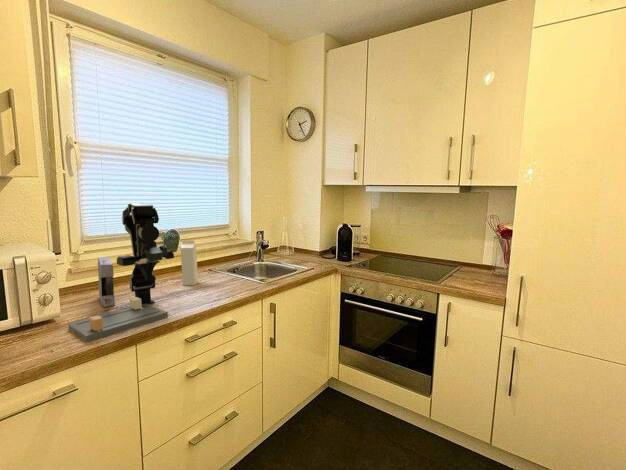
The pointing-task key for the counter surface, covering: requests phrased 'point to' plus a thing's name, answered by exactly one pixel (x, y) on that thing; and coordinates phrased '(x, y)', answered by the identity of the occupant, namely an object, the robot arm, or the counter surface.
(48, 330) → the counter surface
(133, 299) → the cream slider
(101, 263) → the striped narrow carton
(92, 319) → the copper slider
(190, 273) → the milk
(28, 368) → the counter surface
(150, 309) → the panel
